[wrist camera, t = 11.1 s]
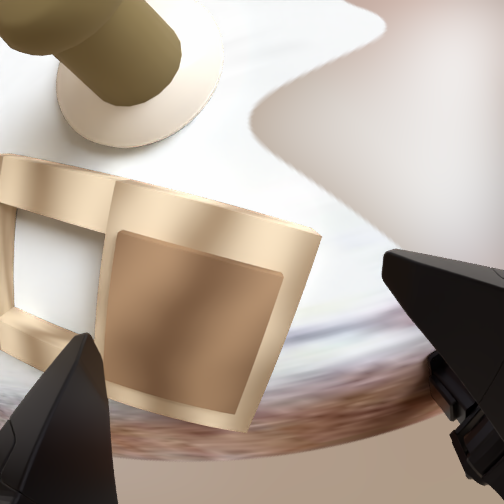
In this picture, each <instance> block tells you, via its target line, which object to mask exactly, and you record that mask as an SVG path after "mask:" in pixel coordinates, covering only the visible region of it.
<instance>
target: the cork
mask: <svg viewBox="0 0 504 504" xmlns="http://www.w3.org/2000/svg"><path fill="white" fill-rule="evenodd" d="M0 37H1V38H2V39H3V40H4V41H5V42H6V43H7V44H8V46H9V47H10V48H12V49H14V50H17V51H19V52H22V53H26V54H30V55H39V56H44V55H51V54H53V55H54V56H55V57H56V58H57V59H58V60H59V61H60V62H61V63H62V64H63V65H65V66H66V67H67V68H68V69H69V70H70V71H71V72H72V73H73V74H74V75H75V76H77V77H78V78H79V79H80V80H81V81H82V82H83V83H84V84H85V85H86V86H87V87H89V88H90V89H91V90H92V91H93V92H94V93H95V94H96V95H97V96H98V97H99V98H100V99H102V100H103V101H104V102H107V103H109V104H112V105H114V106H128V107H130V106H133V105H137V104H141V103H145V102H146V101H148V100H150V99H152V98H153V97H155V96H157V95H159V94H160V93H161V92H162V91H163V90H164V89H165V88H166V87H167V86H168V85H169V84H170V83H171V81H172V80H173V78H174V76H175V75H176V73H177V71H178V70H179V66H180V62H181V58H182V50H181V42H180V40H179V39H178V37H177V35H176V33H175V31H174V30H173V29H172V28H171V27H170V26H169V25H168V24H167V23H166V22H165V21H164V20H163V19H162V18H161V16H160V15H159V14H158V13H157V12H156V11H155V10H154V9H153V8H152V7H151V6H150V5H149V4H148V3H147V2H146V1H145V0H0Z"/></svg>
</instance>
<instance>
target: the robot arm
mask: <svg viewBox="0 0 504 504" xmlns="http://www.w3.org/2000/svg"><path fill="white" fill-rule="evenodd" d="M382 279H383V281H384V283H385V284H386V286H387V287H388V288H389V290H390V291H391V293H392V294H393V295H394V297H395V298H396V300H397V301H398V302H399V304H400V305H401V307H402V308H403V309H404V311H405V312H406V314H407V315H408V316H409V317H410V319H411V320H412V321H413V322H414V323H415V325H416V326H417V327H418V328H419V329H420V330H421V332H422V333H423V334H424V335H425V337H426V338H427V339H428V340H429V341H430V343H431V344H432V345H433V346H434V348H435V349H436V350H437V351H436V352H434V353H433V354H431V355H430V356H429V358H428V366H429V371H430V377H429V385H430V391H431V396H432V397H433V399H434V400H435V401H436V402H437V404H438V405H439V406H440V408H441V409H442V410H443V412H444V413H445V414H446V416H447V417H448V418H449V420H450V421H454V420H456V419H457V420H458V421H459V423H460V425H459V426H458V427H457V429H456V430H453V431H452V432H451V434H450V437H451V439H452V444H453V446H454V448H455V451H456V453H457V455H458V457H459V460H460V462H461V464H462V467H463V469H464V471H465V474H466V477H467V478H468V479H474V480H475V481H476V482H477V483H479V484H481V485H484V486H485V485H490V486H491V487H492V488H493V489H494V490H495V491H496V492H497V493H498V494H499V495H500V496H501V497H502V499H503V500H504V270H500V269H496V268H490V267H487V266H481V265H477V264H472V263H467V262H462V261H457V260H452V259H447V258H442V257H437V256H432V255H427V254H422V253H416V252H411V251H406V250H400V249H392V250H389V251H387V252H385V254H384V256H383V266H382ZM433 359H434V360H433ZM0 504H118V500H117V493H116V485H115V478H114V469H113V460H112V448H111V434H110V416H109V405H108V398H107V391H106V383H105V375H104V366H103V360H102V356H101V354H100V352H99V350H98V348H97V346H96V345H95V343H94V341H93V339H92V337H91V335H90V334H89V333H83V334H78V335H75V336H74V337H73V338H72V339H71V340H70V342H69V343H68V344H67V345H66V346H65V348H64V349H63V350H62V351H61V352H60V354H59V355H58V356H57V357H56V358H55V360H54V361H53V362H52V363H51V365H50V366H49V367H48V368H47V369H46V371H45V372H44V373H43V374H42V376H41V377H40V378H39V379H38V381H37V382H36V383H35V385H34V386H33V387H32V388H31V390H30V391H29V392H28V394H27V395H26V396H25V398H24V399H23V400H22V401H21V403H20V404H19V405H18V407H17V408H16V409H15V411H14V412H13V414H12V415H11V416H10V420H7V422H6V423H5V425H4V426H3V427H2V429H1V430H0Z"/></svg>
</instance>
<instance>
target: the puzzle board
mask: <svg viewBox="0 0 504 504" xmlns="http://www.w3.org/2000/svg"><path fill="white" fill-rule="evenodd" d="M17 208H20V209H24V210H27V211H30V212H33V213H37V214H40V215H43V216H47V217H50V218H53V219H57V220H60V221H63V222H67V223H70V224H74V225H77V226H80V227H84V228H87V229H91V230H94V231H97V232H101V233H104V234H105V240H104V247H103V254H102V261H101V269H100V277H99V286H98V296H97V308H96V321H95V339H94V340H93V341H94V343H95V345H96V346H97V348H98V350H99V352H100V354H101V356H102V360H103V366H104V375H105V383H106V391H107V398H109V399H112V400H115V401H118V402H121V403H124V404H127V405H130V406H133V407H136V408H139V409H143V410H146V411H149V412H153V413H156V414H160V415H163V416H167V417H171V418H175V419H179V420H183V421H187V422H191V423H196V424H200V425H205V426H210V427H215V428H220V429H225V430H230V431H236V432H242V433H247V431H248V428H249V426H250V424H251V422H252V419H253V417H254V415H255V412H256V410H257V408H258V405H259V403H260V401H261V398H262V396H263V394H264V391H265V389H266V386H267V384H268V382H269V379H270V377H271V374H272V372H273V369H274V367H275V364H276V362H277V359H278V357H279V354H280V352H281V349H282V347H283V344H284V341H285V339H286V336H287V334H288V331H289V328H290V326H291V323H292V320H293V318H294V315H295V312H296V310H297V307H298V304H299V302H300V299H301V296H302V293H303V290H304V288H305V285H306V282H307V279H308V276H309V273H310V271H311V268H312V265H313V262H314V259H315V256H316V253H317V250H318V247H319V244H320V241H321V238H322V236H321V235H320V234H318V233H317V232H316V231H315V230H313V229H312V228H309V227H306V226H303V225H299V224H296V223H292V222H289V221H286V220H282V219H279V218H275V217H272V216H268V215H265V214H261V213H258V212H254V211H251V210H247V209H243V208H240V207H236V206H233V205H229V204H225V203H222V202H218V201H214V200H210V199H207V198H203V197H199V196H195V195H191V194H188V193H184V192H180V191H176V190H172V189H168V188H164V187H160V186H156V185H152V184H148V183H144V182H140V181H136V180H131V179H127V178H123V177H119V176H115V175H110V174H106V173H102V172H97V171H93V170H88V169H84V168H79V167H75V166H70V165H65V164H61V163H56V162H51V161H46V160H41V159H37V158H32V157H27V156H21V155H16V154H0V350H2V351H4V352H6V353H8V354H9V355H11V356H13V357H15V358H17V359H19V360H21V361H23V362H25V363H27V364H29V365H31V366H33V367H35V368H37V369H39V370H41V371H43V372H45V371H46V369H47V368H48V367H49V366H50V365H51V363H52V362H53V361H54V360H55V358H56V357H57V356H58V355H59V354H60V352H61V351H62V350H63V349H64V348H65V346H66V345H67V344H68V343H69V342H70V340H71V339H72V338H73V337H74V336H75V335H78V334H77V333H74V332H72V331H69V330H67V329H64V328H62V327H59V326H57V325H55V324H52V323H50V322H47V321H45V320H43V319H40V318H38V317H36V316H34V315H31V314H29V313H27V312H25V311H23V310H20V309H18V308H16V307H14V289H13V259H14V236H15V222H16V211H17Z"/></svg>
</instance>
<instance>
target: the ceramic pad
mask: <svg viewBox="0 0 504 504" xmlns="http://www.w3.org/2000/svg"><path fill="white" fill-rule="evenodd" d="M145 1H146V2H147V3H148V4H149V5H150V6H151V7H152V8H153V9H154V10H155V11H156V12H157V13H158V14H159V15H160V16H161V18H162V19H163V20H164V21H165V22H166V23H167V24H168V25H169V26H170V27H171V28H172V29H173V30H174V31H175V33H176V35H177V37H178V39H179V40H180V42H181V50H182V58H181V62H180V66H179V70H178V71H177V73H176V75H175V76H174V78H173V80H172V81H171V83H170V84H169V85H168V86H167V87H166V88H165V89H164V90H163V91H162V92H161V93H160V94H159V95H157V96H155V97H153V98H152V99H150V100H148V101H146V102H145V103H141V104H137V105H133V106H130V107H128V106H114V105H112V104H109V103H107V102H104V101H103V100H102V99H100V98H99V97H98V96H97V95H96V94H95V93H94V92H93V91H92V90H91V89H90V88H89V87H87V86H86V85H85V84H84V83H83V82H82V81H81V80H80V79H79V78H78V77H77V76H75V75H74V74H73V73H72V72H71V71H70V70H69V69H68V68H67V67H66V66H65V65H63V64H62V63H61V62H60V63H59V68H58V72H57V80H56V92H57V98H58V103H59V106H60V109H61V112H62V114H63V116H64V118H65V119H66V121H67V122H68V123H69V125H70V126H71V127H72V128H73V129H74V130H75V131H76V132H77V133H78V134H80V135H81V136H83V137H84V138H86V139H88V140H90V141H92V142H95V143H98V144H101V145H106V146H113V147H120V148H131V147H140V146H144V145H148V144H152V143H155V142H157V141H160V140H163V139H165V138H167V137H169V136H171V135H173V134H174V133H176V132H177V131H179V130H180V129H182V128H183V127H185V126H186V125H187V124H188V123H189V122H191V121H192V120H193V119H194V118H195V117H196V116H197V115H198V114H199V113H200V112H201V111H202V109H203V108H204V107H205V106H206V104H207V103H208V102H209V100H210V98H211V97H212V95H213V93H214V91H215V89H216V87H217V85H218V83H219V80H220V76H221V73H222V68H223V62H224V51H223V43H222V37H221V33H220V30H219V27H218V25H217V23H216V21H215V19H214V18H213V16H212V15H211V14H210V12H209V11H208V10H207V9H206V8H205V7H204V6H203V5H202V4H200V3H199V2H197V1H196V0H145Z"/></svg>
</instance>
